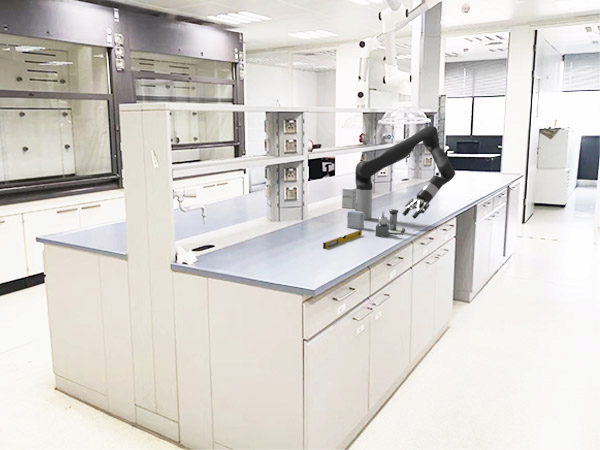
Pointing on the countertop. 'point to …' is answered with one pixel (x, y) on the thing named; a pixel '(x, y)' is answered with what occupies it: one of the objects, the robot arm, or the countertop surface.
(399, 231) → the mat
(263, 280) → the countertop surface
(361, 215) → the medicine box
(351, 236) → the spirit level
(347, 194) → the supplement box
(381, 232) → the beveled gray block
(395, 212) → the salt shaker
